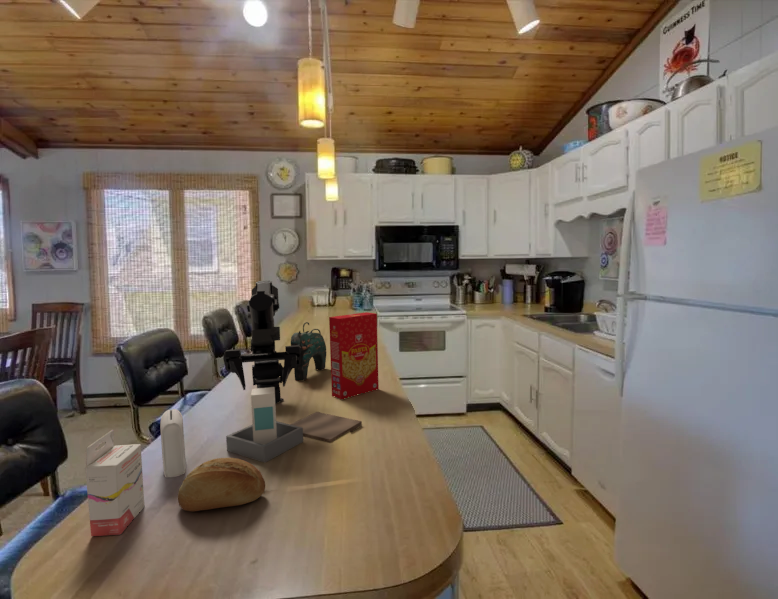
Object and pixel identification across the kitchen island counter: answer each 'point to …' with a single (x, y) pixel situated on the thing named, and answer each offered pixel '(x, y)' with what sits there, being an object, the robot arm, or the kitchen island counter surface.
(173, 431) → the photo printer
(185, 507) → the bread roll
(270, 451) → the tub
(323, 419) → the board
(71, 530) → the kitchen island counter surface
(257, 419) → the carton
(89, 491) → the ink cartridge box
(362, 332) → the food packaging
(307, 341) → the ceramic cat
